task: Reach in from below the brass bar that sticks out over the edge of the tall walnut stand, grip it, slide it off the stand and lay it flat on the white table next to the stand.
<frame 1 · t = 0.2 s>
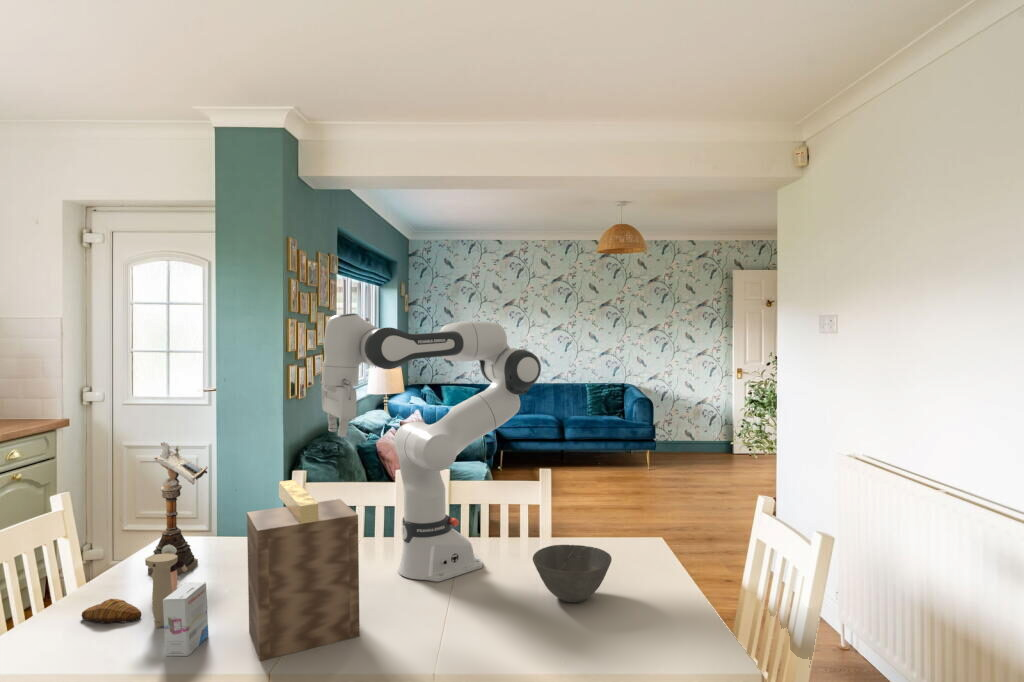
hand: (337, 433, 162), 39 cm above the table, tool pointing down, fingers open, 8 cm apart
brass bar: (297, 508, 142), point 26 cm above the table, touching walnut stand
grandmother figurine: (170, 596, 159), on the table
ink box: (187, 646, 135), on the table
walnut stand: (303, 633, 139), on the table
bowl: (572, 598, 157), on the table
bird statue: (183, 567, 177), on the table
croissant: (111, 621, 147), on the table
handle: (163, 625, 144), on the table
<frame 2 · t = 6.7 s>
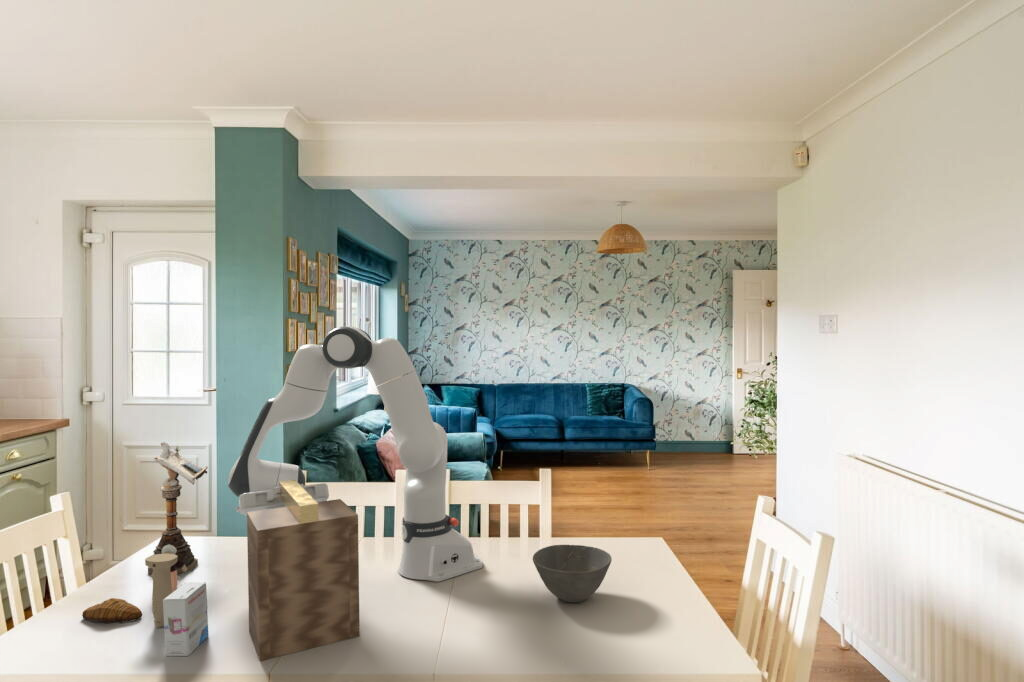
hand: (289, 488, 150), 28 cm above the table, tool pointing upward, fingers closed on brass bar, 4 cm apart
brass bar: (297, 508, 142), point 26 cm above the table, touching gripper, walnut stand
everything else where it was.
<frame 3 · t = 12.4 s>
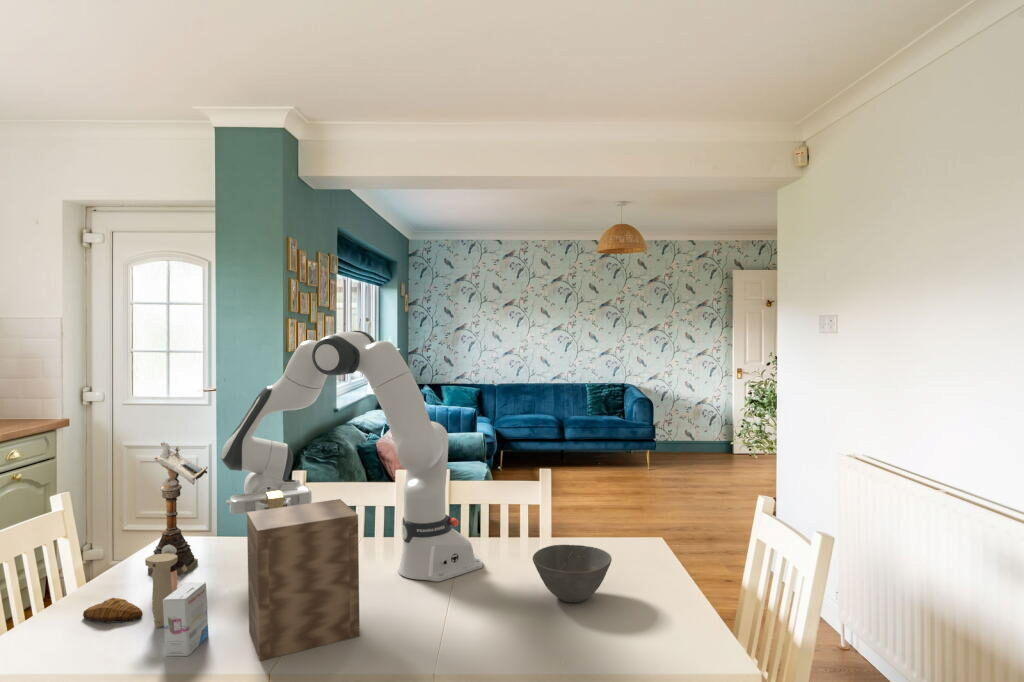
hand: (276, 507, 165), 20 cm above the table, tool horizontal, fingers closed on brass bar, 4 cm apart
brass bar: (272, 531, 170), point 12 cm above the table, tilted 105°, touching gripper
everything else where it was.
when the fingers open (13 cm above the table, at t = 13.8 s): brass bar drops 9 cm and tips over, point 3 cm above the table.
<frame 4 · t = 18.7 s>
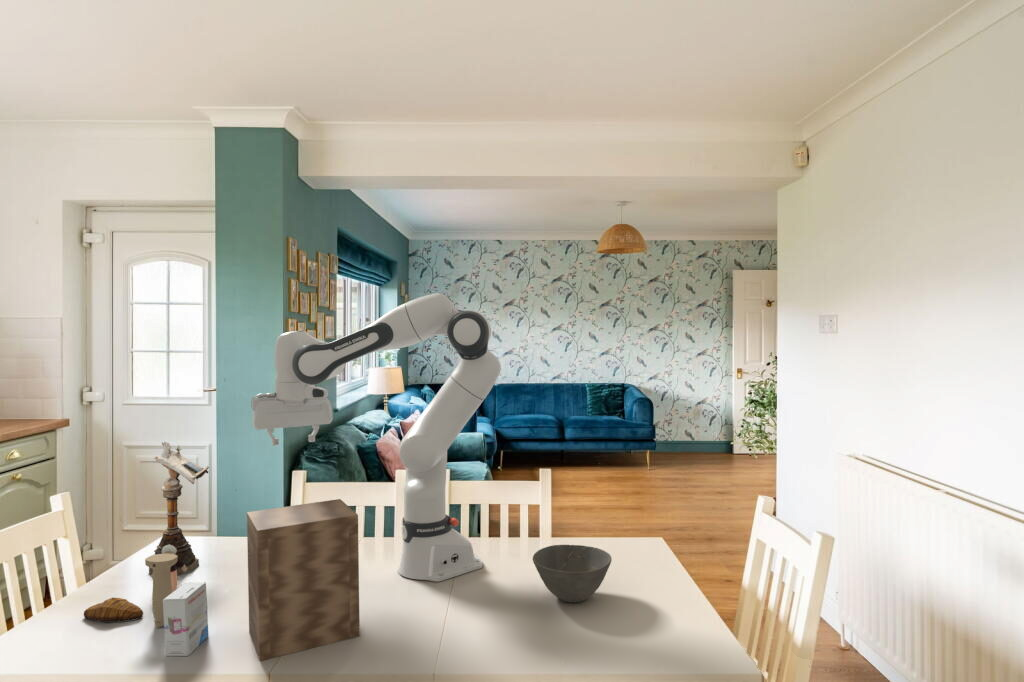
hand: (293, 443, 174), 34 cm above the table, tool pointing down, fingers open, 8 cm apart
brass bar: (282, 581, 159), point 3 cm above the table, tilted 180°
everything else where it was.
at the end: brass bar inside the target area (3.4 cm from its centre), point 3.2 cm above the table; the gripper is holding nothing; brass bar moved 29.4 cm from its start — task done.
